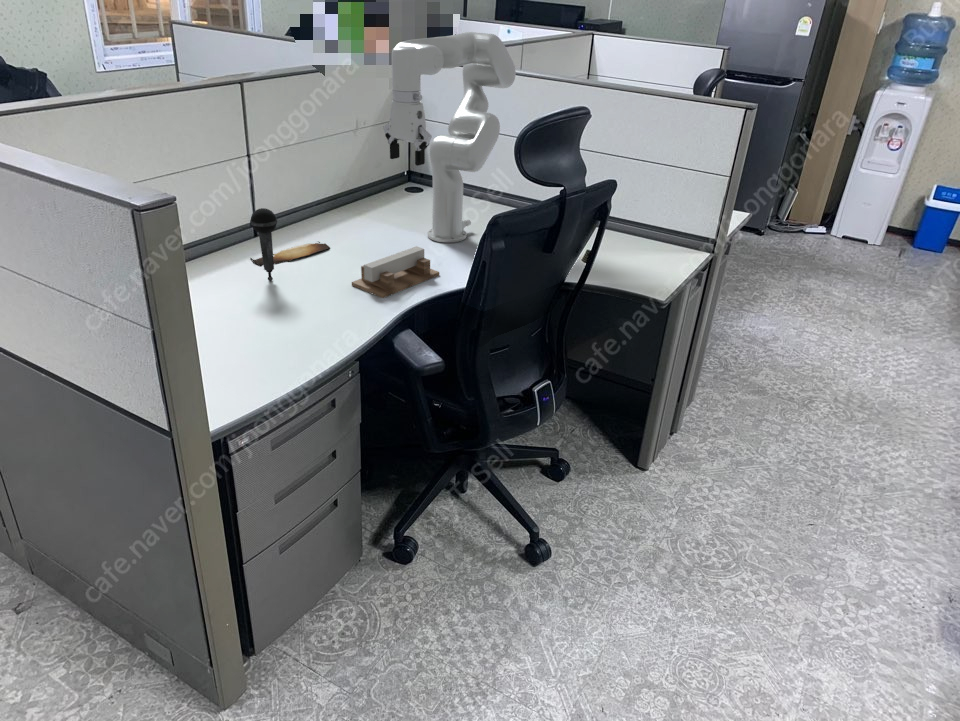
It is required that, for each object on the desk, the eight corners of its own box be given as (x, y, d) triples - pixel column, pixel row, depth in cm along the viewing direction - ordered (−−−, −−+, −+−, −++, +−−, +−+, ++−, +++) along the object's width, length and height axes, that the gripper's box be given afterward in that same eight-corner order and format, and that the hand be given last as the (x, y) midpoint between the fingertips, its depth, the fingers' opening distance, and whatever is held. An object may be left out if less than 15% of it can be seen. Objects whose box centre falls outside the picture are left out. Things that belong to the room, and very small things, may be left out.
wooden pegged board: (408, 264, 209) (408, 247, 207) (439, 275, 203) (439, 258, 200) (351, 285, 194) (350, 268, 192) (383, 298, 188) (382, 280, 185)
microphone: (260, 287, 191) (251, 214, 181) (254, 278, 196) (245, 206, 186) (286, 283, 193) (279, 211, 184) (280, 274, 199) (272, 203, 189)
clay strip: (416, 259, 204) (416, 246, 202) (424, 262, 203) (424, 248, 201) (364, 279, 191) (363, 264, 189) (372, 282, 189) (371, 267, 187)
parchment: (318, 241, 224) (318, 238, 223) (337, 249, 218) (337, 246, 217) (246, 261, 208) (246, 258, 208) (264, 270, 202) (264, 267, 202)
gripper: (440, 99, 190) (439, 164, 198) (393, 91, 199) (394, 153, 208) (420, 102, 185) (420, 169, 193) (373, 94, 194) (375, 158, 202)
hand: (407, 161), depth 200 cm, fingers open, 9 cm apart
